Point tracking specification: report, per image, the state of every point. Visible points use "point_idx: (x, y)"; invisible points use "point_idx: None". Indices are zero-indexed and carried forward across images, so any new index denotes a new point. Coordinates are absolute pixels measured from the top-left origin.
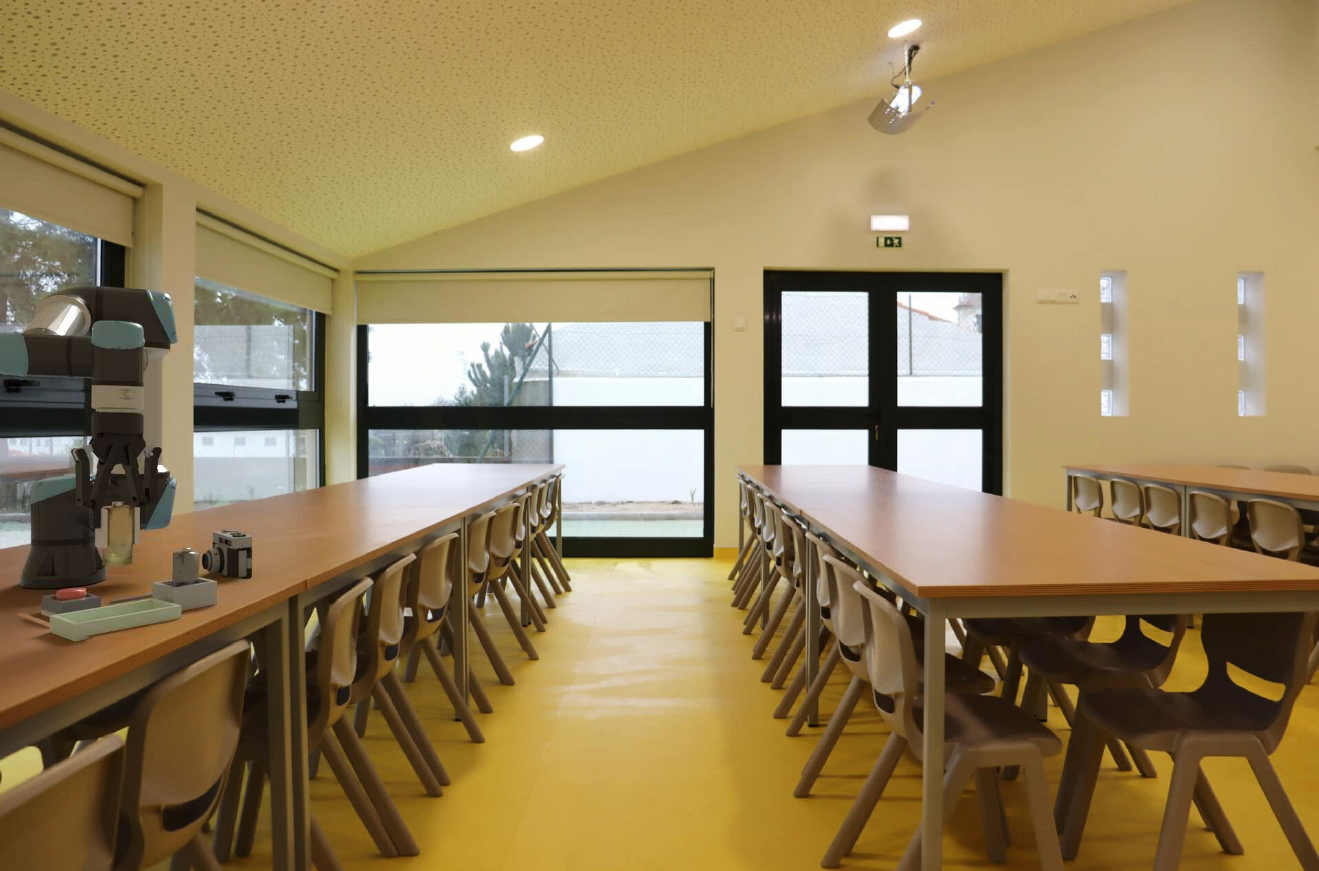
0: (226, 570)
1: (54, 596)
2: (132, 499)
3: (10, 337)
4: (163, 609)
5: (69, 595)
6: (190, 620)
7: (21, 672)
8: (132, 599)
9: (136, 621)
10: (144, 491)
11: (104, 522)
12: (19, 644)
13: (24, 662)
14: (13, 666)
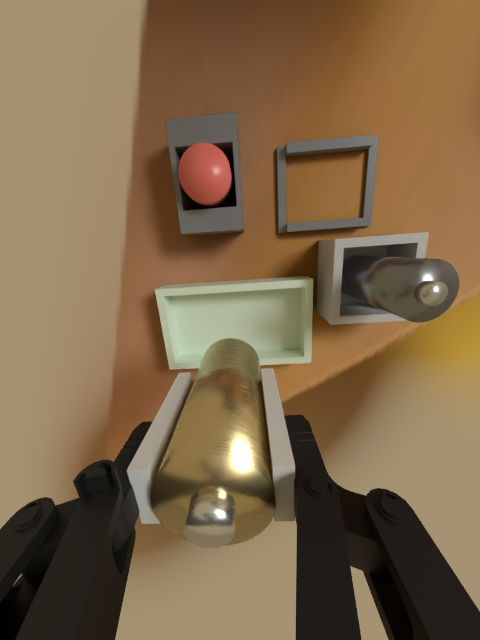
0: None
1: (183, 145)
2: (297, 516)
3: None
4: (284, 363)
5: (196, 201)
6: (314, 356)
7: (115, 432)
8: (324, 151)
9: None
10: (393, 578)
11: None
12: (125, 324)
13: (121, 403)
14: (111, 409)
